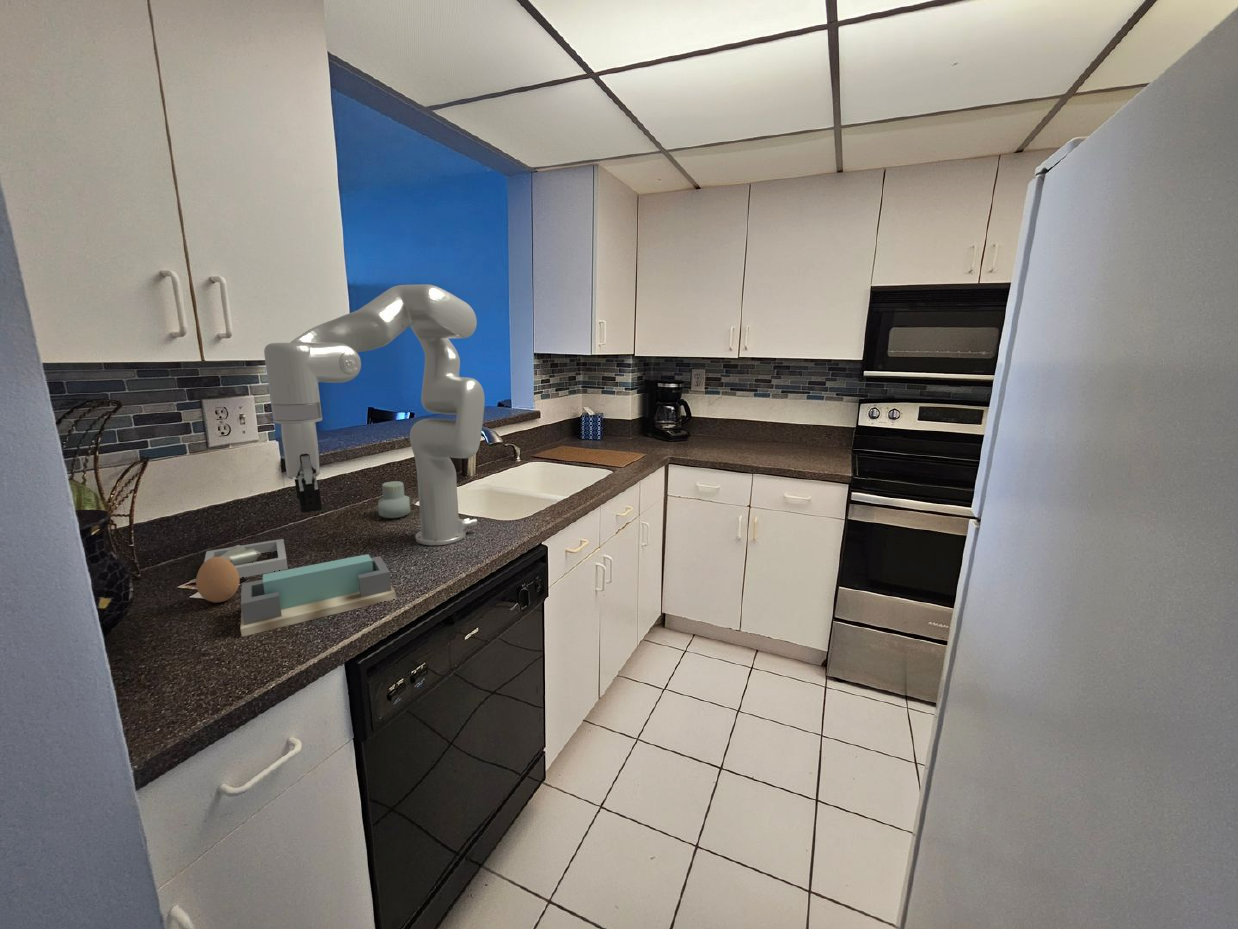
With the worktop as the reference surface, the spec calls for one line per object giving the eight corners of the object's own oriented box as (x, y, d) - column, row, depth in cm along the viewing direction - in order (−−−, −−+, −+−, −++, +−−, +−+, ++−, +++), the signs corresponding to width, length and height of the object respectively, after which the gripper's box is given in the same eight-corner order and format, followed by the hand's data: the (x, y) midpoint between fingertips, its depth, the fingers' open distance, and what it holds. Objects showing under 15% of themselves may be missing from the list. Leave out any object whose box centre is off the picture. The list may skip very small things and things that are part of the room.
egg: (244, 590, 105) (237, 548, 103) (240, 604, 100) (233, 560, 98) (203, 598, 102) (195, 555, 100) (197, 612, 96) (188, 567, 94)
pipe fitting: (263, 560, 122) (231, 560, 121) (262, 544, 121) (230, 544, 120) (246, 574, 114) (212, 574, 113) (245, 557, 114) (210, 557, 112)
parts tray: (284, 548, 128) (283, 538, 127) (287, 569, 116) (286, 558, 115) (208, 561, 119) (206, 551, 119) (203, 585, 107) (201, 574, 107)
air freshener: (381, 511, 157) (378, 480, 155) (410, 509, 160) (408, 478, 158) (378, 522, 147) (375, 489, 145) (409, 519, 150) (407, 486, 148)
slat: (371, 581, 107) (368, 554, 106) (374, 588, 104) (372, 560, 102) (267, 604, 97) (262, 574, 95) (267, 612, 94) (263, 582, 92)
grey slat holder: (381, 573, 110) (380, 556, 110) (391, 590, 103) (389, 571, 102) (244, 603, 97) (241, 583, 96) (244, 625, 89) (240, 604, 88)
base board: (383, 577, 112) (383, 571, 112) (396, 599, 102) (395, 592, 102) (242, 608, 98) (241, 601, 98) (241, 637, 88) (240, 629, 88)
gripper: (271, 409, 97) (283, 496, 101) (274, 420, 83) (288, 520, 87) (316, 407, 101) (326, 491, 105) (326, 417, 87) (337, 513, 91)
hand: (309, 504), depth 96 cm, fingers open, 9 cm apart
